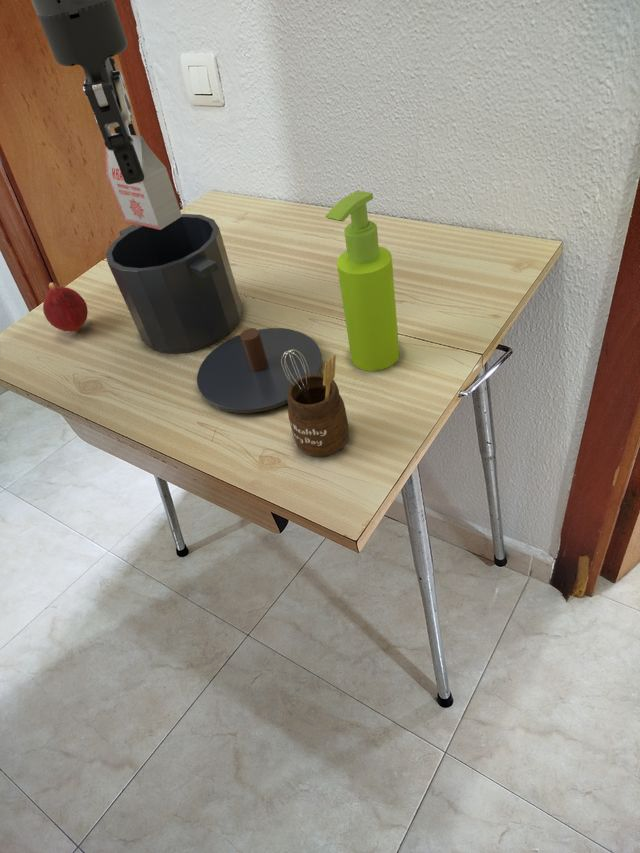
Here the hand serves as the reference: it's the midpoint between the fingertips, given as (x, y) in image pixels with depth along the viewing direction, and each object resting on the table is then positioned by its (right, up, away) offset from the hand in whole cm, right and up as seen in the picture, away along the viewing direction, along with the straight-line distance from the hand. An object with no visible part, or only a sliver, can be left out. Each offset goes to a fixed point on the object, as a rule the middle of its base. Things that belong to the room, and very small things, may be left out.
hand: (135, 169), depth 69 cm
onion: (-14, -16, +18) cm, 28 cm away
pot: (+3, -15, +15) cm, 22 cm away
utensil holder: (+22, -32, -6) cm, 39 cm away
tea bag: (+1, -4, +4) cm, 6 cm away
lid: (+14, -23, +4) cm, 27 cm away
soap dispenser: (+28, -22, +3) cm, 36 cm away
